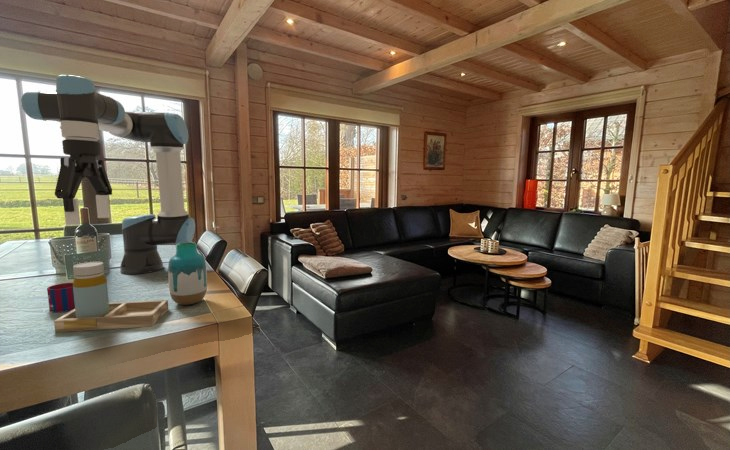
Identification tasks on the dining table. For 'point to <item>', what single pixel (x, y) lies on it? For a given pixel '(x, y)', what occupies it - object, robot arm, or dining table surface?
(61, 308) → the mug
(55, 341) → the dining table surface
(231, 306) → the dining table surface
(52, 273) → the dining table surface
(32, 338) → the dining table surface
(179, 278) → the vase
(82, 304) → the bottle
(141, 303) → the caddy
